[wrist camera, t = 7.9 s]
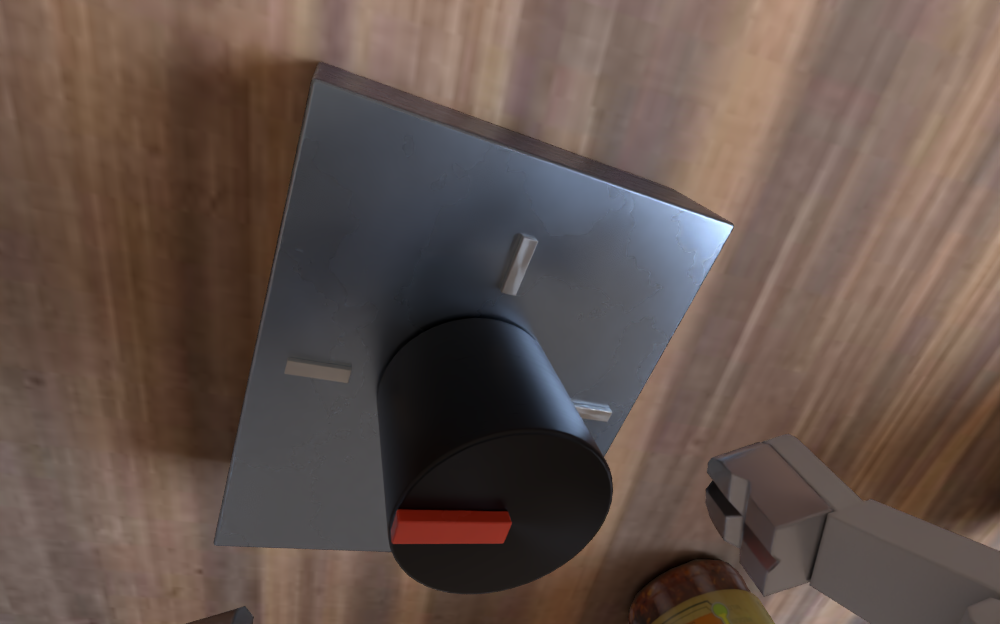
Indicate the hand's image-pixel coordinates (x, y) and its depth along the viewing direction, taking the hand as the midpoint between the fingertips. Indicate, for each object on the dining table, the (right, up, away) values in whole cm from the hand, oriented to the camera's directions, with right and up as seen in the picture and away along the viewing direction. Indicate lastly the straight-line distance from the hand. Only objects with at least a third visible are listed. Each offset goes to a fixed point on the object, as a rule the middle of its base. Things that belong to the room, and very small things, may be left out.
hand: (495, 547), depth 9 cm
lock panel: (-1, +3, +7) cm, 8 cm away
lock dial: (-1, +2, +4) cm, 5 cm away
